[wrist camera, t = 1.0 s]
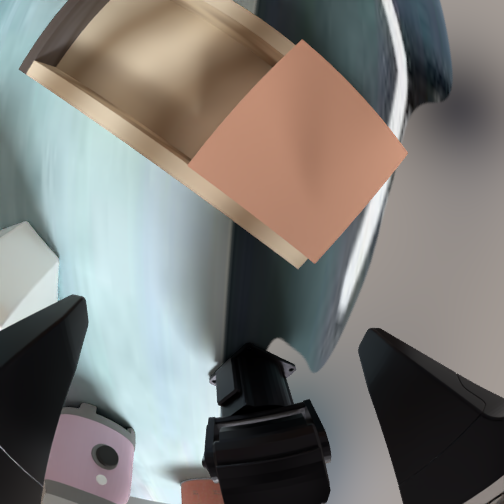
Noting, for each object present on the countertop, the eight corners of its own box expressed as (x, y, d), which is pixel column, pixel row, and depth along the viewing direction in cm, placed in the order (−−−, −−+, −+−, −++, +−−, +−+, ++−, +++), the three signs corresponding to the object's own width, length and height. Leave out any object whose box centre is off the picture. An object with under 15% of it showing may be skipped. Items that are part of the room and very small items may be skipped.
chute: (367, 147, 19) (398, 152, 15) (283, 244, 21) (297, 269, 17) (133, -25, 10) (119, -49, 7) (47, 76, 13) (18, 69, 9)
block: (345, 143, 17) (408, 153, 11) (280, 218, 19) (314, 263, 13) (268, 72, 15) (302, 39, 8) (197, 153, 16) (187, 165, 10)
